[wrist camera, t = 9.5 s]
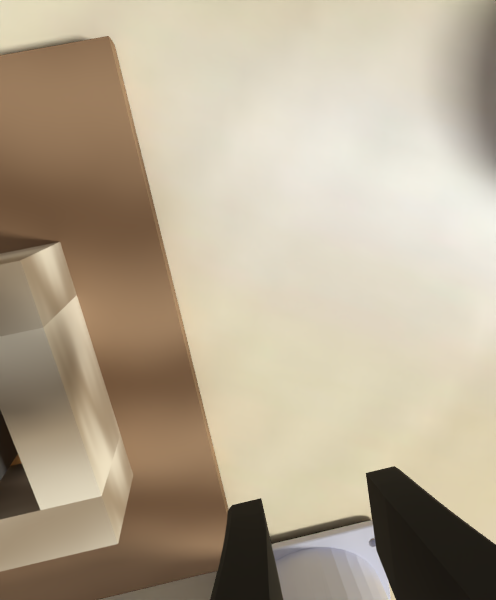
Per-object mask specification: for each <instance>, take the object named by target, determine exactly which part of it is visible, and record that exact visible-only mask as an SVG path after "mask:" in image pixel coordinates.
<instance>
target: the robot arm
mask: <svg viewBox="0 0 496 600" xmlns="http://www.w3.org/2000/svg"><path fill="white" fill-rule="evenodd" d="M366 477H367V485H368V492H369V500H370V507H371V514H372V520H370V521H365V522H361V523H357V524H353V525H349V526H344V527H340V528H336V529H332V530H328V531H324V532H319V533H315V534H311V535H307V536H303V537H299V538H294V539H290V540H286V541H282V542H278V543H274V544H271V540H270V536H269V531H268V527H267V522H266V518H265V513H264V509H263V504H262V500H261V498H260V499H256V500H252V501H248V502H244V503H240V504H235V505H232V506H231V507H230V509H229V510H228V513H227V524H226V531H225V538H224V543H223V549H222V553H221V558H220V563H219V567H218V572H217V575H216V579H215V583H214V587H213V591H212V595H211V599H210V600H391V597H390V589H389V583H390V586H391V588H392V591H393V593H394V596H395V598H396V600H496V545H495V544H494V543H493V542H491V541H490V540H489V539H487V538H486V537H485V536H483V535H482V534H481V533H479V532H478V531H476V530H475V529H474V528H472V527H471V526H470V525H468V524H467V523H466V522H464V521H463V520H462V519H460V518H459V517H458V516H456V515H455V514H454V513H453V512H451V511H450V510H449V509H447V508H446V507H445V506H444V505H442V504H441V503H440V502H439V501H437V500H436V499H435V498H434V497H432V496H431V495H430V494H429V493H427V492H426V491H425V490H424V489H422V488H421V487H420V486H419V485H418V484H416V483H415V482H414V481H413V480H412V479H410V478H409V477H408V476H407V475H405V474H404V473H403V472H402V471H401V470H399V469H398V468H396V467H395V466H394V467H390V468H386V469H381V470H377V471H373V472H369V473H366ZM372 538H374V539H373V540H371V539H372Z"/></svg>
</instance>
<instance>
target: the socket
mask: <svg viewBox="0 0 496 600" xmlns="http://www.w3.org/2000/svg"><path fill="white" fill-rule="evenodd" d="M0 410H1V412H2V415H3V417H4V420H5V422H6V425H7V427H8V430H9V432H10V435H11V437H12V440H13V442H14V445H15V447H16V450H17V452H18V455H19V457H20V460H21V462H22V463H21V464H17V465H13V466H10V467H9V468H8V470H7V471H6V473H5V474H4V476H3V478H2V479H1V481H0V600H98V599H103V598H107V597H111V596H115V595H119V594H123V593H127V592H131V591H136V590H140V589H144V588H148V587H152V586H156V585H160V584H165V583H169V582H173V581H177V580H181V579H185V578H189V577H193V576H198V575H202V574H206V573H210V572H214V571H218V567H219V563H220V558H221V553H222V549H223V543H224V538H225V531H226V524H227V513H228V510H229V509H228V505H227V501H226V497H225V493H224V489H223V485H222V481H221V477H220V473H219V469H218V465H217V461H216V456H215V452H214V448H213V444H212V440H211V436H210V432H209V428H208V424H207V420H206V416H205V412H204V408H203V404H202V399H201V395H200V391H199V387H198V383H197V379H196V375H195V371H194V367H193V363H192V359H191V355H190V351H189V346H188V342H187V338H186V334H185V330H184V326H183V322H182V318H181V314H180V310H179V306H178V302H177V298H176V293H175V289H174V285H173V281H172V277H171V273H170V269H169V265H168V261H167V257H166V253H165V249H164V245H163V241H162V236H161V232H160V228H159V224H158V220H157V216H156V212H155V208H154V204H153V200H152V196H151V192H150V188H149V183H148V179H147V175H146V171H145V167H144V163H143V159H142V155H141V151H140V147H139V143H138V139H137V135H136V130H135V126H134V122H133V118H132V114H131V110H130V106H129V102H128V98H127V94H126V90H125V86H124V82H123V78H122V73H121V69H120V65H119V61H118V57H117V53H116V49H115V45H114V43H113V42H112V40H111V39H110V37H109V36H106V37H101V38H95V39H90V40H84V41H78V42H73V43H67V44H61V45H56V46H50V47H45V48H39V49H33V50H28V51H22V52H17V53H11V54H5V55H0Z"/></svg>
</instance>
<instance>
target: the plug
mask: <svg viewBox="0 0 496 600" xmlns="http://www.w3.org/2000/svg"><path fill="white" fill-rule="evenodd" d="M17 455H18V452H17V450H16V447H15V445H14V442H13V440H12V437H11V435H10V432H9V430H8V427H7V425H6V422H5V420H4V417H3V415H2V412H1V410H0V481H1V479H2V478H3V476H4V474H5V473H6V471H7V470H8V468H9V467H10V465H11V464H12V462H13V461H14V459H15V458H16V456H17Z"/></svg>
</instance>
